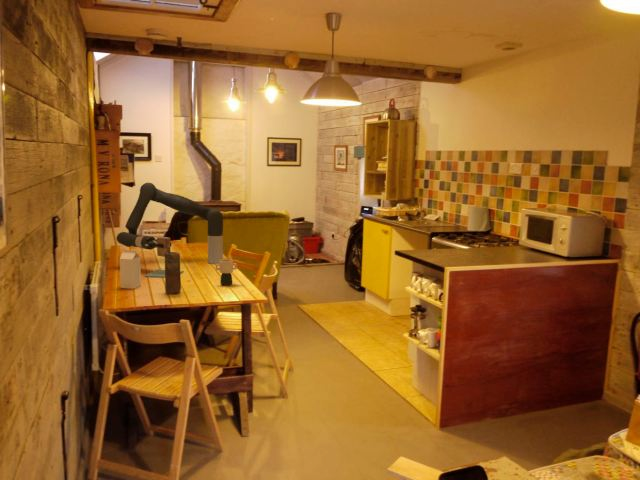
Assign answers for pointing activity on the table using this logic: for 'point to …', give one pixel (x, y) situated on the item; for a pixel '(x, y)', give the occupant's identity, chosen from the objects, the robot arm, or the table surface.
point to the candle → (172, 272)
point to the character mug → (226, 270)
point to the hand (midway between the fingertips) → (167, 245)
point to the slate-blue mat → (158, 274)
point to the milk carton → (130, 269)
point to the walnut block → (166, 246)
